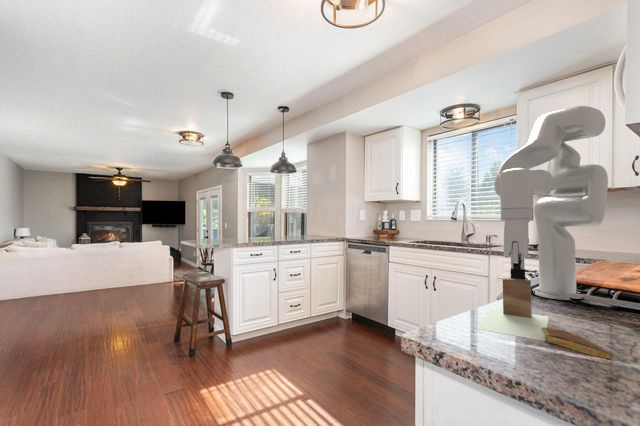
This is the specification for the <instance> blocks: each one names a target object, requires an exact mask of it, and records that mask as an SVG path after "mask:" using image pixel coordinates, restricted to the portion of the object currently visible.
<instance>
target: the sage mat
mask: <svg viewBox="0 0 640 426" xmlns="http://www.w3.org/2000/svg"><path fill="white" fill-rule="evenodd" d="M548 323H549V316H547V315H540V314H532V316H531V318H527V317H520V316H513V315H507V314H503V309H498V308H490V309H489V310H488V312H487V313H486V314H485V315H484V316H483V318H482V320H481V321H480V322H479V324H478V325H477V327H476V330H481V331H487V332H492V333H498V334H501V335H502V334H503V335H510V336H515V337H521V338H525V339H531V340H535V341H536V340H537V341H542V342H546V341H547V339H546V336H545V335H544V333H543V331H542V330H541V328H548Z"/></svg>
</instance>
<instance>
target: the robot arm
mask: <svg viewBox="0 0 640 426" xmlns="http://www.w3.org/2000/svg"><path fill="white" fill-rule="evenodd" d="M605 128H606V118H605V114H604V113H603V112H602V111H601V110H600V109H598V108H594V107H592V106H589V105H588V106H587V105H577V106H573V107H568V108H564V109H558V110H555V111H550V112H547V113H545V114H542V115H541V116H540V117H538V118H537V120H536V121H535V123H534V125H533V128H532V131H531V133H530V136H529V137H528V139H527V143H526V145H524V146H522V147H521V148H519V149H518V150H517V151H515V152H513V154H511V155H510V156H509V157H507V158H506V159H504V161H503V162H502V164H501V165H500V167H499V169H498V171H497V174H496V176H495V181H494V191H495V194H496V195H497V196H498V197H499V198H500V221H501V222H504V224H503V225H504V228H503V258H505V259H508V258H509V257H510V278H513V279H524V280H526V269H525V259H526V257H528V253H529V237H530V236H529V235H530V234H529V222H530V221H534V220H535V222H536V230H537V240H538V246H537V247H538V284H539V285H538V286H539V287H538V288H539V289H540V291H541V292H538V291H535V294H534V295H536V296H538V297H542V298H547V299H551V300H560V301H572V300H571V299H570V298H569V297H568V296H566V295H568V294H575V293H576V292H577V293H580V292H578V291H577V269H576V268H577V267H576V264H577V263H576V262H577V261H576V241H575V238H574V237H573V235H572V234H571V233H570V232H569V231H568V230H567V228H568V227H573V228H575V227H578V228H584V227H585V228H586V227H587V228H588V227H589V228H591V227H597V226H599V225H601V224H602V223H603V221H604V219H605V214H606V213H605V212H606V204H607V197H608V189H609V188H608V187H609V177H608V172H607V169H605V167H603V166H602V165H600V164H594V163H591V164H582V165H581V155H580V153H579V152H578V151H577V150H576V148H573V146H571V145H569V144H567V143H566V142H572V141H577V140H584V139H590V138H594V137H598V136H600V135H601V134H603V132H604V131H605ZM546 163H548V164H547V168H546V170H545V169H532V168H536V167H538V166H540V165H541V166H542V165H544V164H546ZM547 195H549V196H547ZM545 196H547V197H545ZM541 197H542V198H541ZM534 198H540V199H539V200H537V201H536V202H535V204H534ZM534 218H535V219H534Z"/></svg>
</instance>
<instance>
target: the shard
mask: <svg viewBox="0 0 640 426" xmlns="http://www.w3.org/2000/svg"><path fill="white" fill-rule="evenodd" d="M541 330H542V331H543V333H544V335H545V336H546V341H547V343H549V344H555V345H558V346H559V347H565V348H567V349H570V350H572V351H576V352H580V353H583V354H588V355H592V356H596V357H599V358H600V357H601V358H603V359H604V360H607V361H611V359H612V357H613V356H614V354H613V353H610V352H609V351H607V350H605V349H604V348H602V347H600V346H598V345H597V344H596V343H594V342H591V341H590V340H588V339H586V338H585V337H583V336H581V335H579V334H577V333H572V332H570V331H567V330H564V329H559V328H558V329H557V328H551V327H547V328H541Z"/></svg>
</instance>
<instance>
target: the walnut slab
mask: <svg viewBox="0 0 640 426" xmlns="http://www.w3.org/2000/svg"><path fill="white" fill-rule="evenodd" d="M502 310H503V314H507V315H513V316H520V317H527V318H531V316H532V313H533V312H532V280H531V279H525V280H524V279H513V278H511V277H503V278H502Z"/></svg>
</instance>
